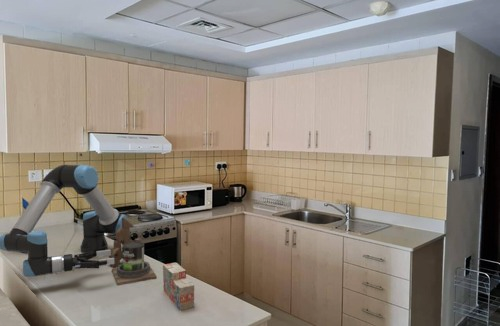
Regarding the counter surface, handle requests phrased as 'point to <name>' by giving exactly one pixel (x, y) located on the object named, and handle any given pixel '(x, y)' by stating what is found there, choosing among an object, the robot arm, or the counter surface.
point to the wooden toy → (123, 236)
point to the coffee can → (133, 256)
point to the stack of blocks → (178, 286)
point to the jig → (133, 274)
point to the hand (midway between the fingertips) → (112, 256)
